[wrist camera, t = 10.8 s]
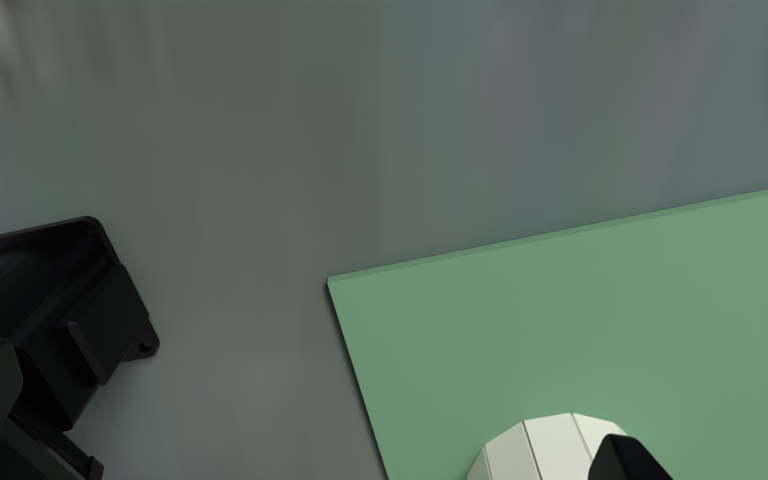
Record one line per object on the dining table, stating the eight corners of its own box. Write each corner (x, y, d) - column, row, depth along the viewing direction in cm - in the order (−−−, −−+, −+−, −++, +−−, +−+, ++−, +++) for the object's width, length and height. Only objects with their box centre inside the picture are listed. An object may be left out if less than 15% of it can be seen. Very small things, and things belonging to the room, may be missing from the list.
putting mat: (417, 564, 31) (418, 573, 31) (328, 276, 23) (327, 283, 22) (831, 502, 29) (838, 510, 29) (901, 162, 21) (913, 166, 20)
